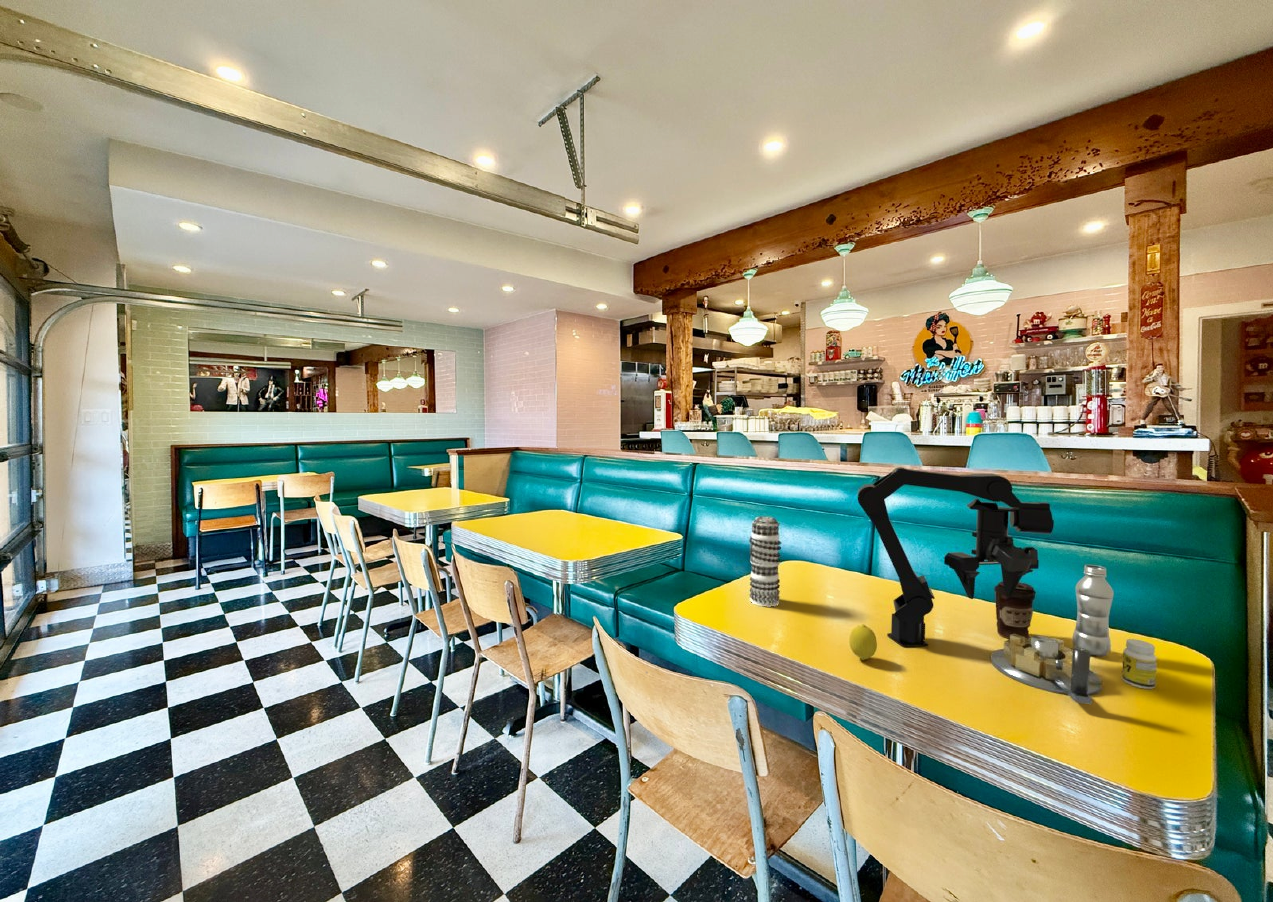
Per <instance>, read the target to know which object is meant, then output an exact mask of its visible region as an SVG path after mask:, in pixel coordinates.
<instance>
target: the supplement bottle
mask: <svg viewBox="0 0 1273 902" xmlns="http://www.w3.org/2000/svg"><path fill="white" fill-rule="evenodd" d="M1155 647H1156V646H1155V645H1154V644H1153V643H1150V642H1147V641H1146V640H1145V641H1144V640H1141V639H1136V638H1128V639H1126V643H1125V648H1124V649H1123V652H1122V654H1123V655H1122V672H1121V679H1122V681H1123V682H1125V683H1126V684H1128V685H1130V686H1133V687H1136V688H1140V689H1145V690H1152V689H1155V688H1156V679H1157V678H1156V677H1157V676H1156V675H1157V661H1158V660H1157V659H1158V658H1157V656H1156V655H1155V652H1156V651H1155V650H1156V649H1155Z"/></svg>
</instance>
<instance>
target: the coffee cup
mask: <svg viewBox="0 0 1273 902" xmlns="http://www.w3.org/2000/svg"><path fill="white" fill-rule="evenodd" d="M993 590H994V591H995V592H994V593H995V595H994V596H995V598H994V599H995V616H996V617H995V618H996V629H997V630H996V631H997V634H998V635H999V636H1001V637H1004V638H1006V639H1010V635H1011V634H1014V633H1015V634H1018V635H1021V636H1024V637H1025V638H1028V639H1031V638H1030V637H1031V636H1030V635H1029V628H1030V627H1031V622H1032V617H1033V615H1034V614H1033V613H1034V608H1033V603H1034V600H1035V599H1036V593H1037V591H1035V589H1034V587H1033V586H1032V585H1031V584H1028V583H1025V582H1020V581H1019V582H1018V584H1017V586H1016V588H1015V590H1014V592H1013V594H1012V596H1011V597H1010V598H1008V597H1006V596H1005V592H1004V587H1003V580H1002V581H1000V582H998V583H997V585H995V587H994V588H993Z"/></svg>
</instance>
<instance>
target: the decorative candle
mask: <svg viewBox="0 0 1273 902" xmlns="http://www.w3.org/2000/svg"><path fill="white" fill-rule="evenodd" d="M751 525H752V526H751V527H752V528H751V535H750V536H749V540H748V541H749V542H748V543H750V545H749V549H750V550H749V555H750V559H749V562H750V563H751V571H750V578H749V580H750V582H749V586H751V587H750V588H749V597H750V598H749V602H750V601H751V602H752V603H753V604H752V603H751V602H750V603H751V604H752V605H754V604H756V605H755V606H757V605H759V606H758V607H762V606H767V607H766V608H772V607H771V606H774V607H777V606H778V605H777V604H779V605H780V597H781V596H780V593H781V591H780V590H779V589H780V581H781V580H780V578H779V577H780V576H779V575H780V574H779V566H780V565H781V564H780V563H781V559H780V558H779V557H781V556H782V554H781V553H780V552H779V551H780V550H782V547H781V546H780V545H781V544H782V541H780V533H779V530H780V528H779V525H781V524H780V523H779V522H778V521H777V519H776V517H775V518H774V517H772V516H756V517H755V519H754V520H753V521H751ZM776 605H777V606H776Z"/></svg>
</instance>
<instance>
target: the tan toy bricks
mask: <svg viewBox="0 0 1273 902" xmlns="http://www.w3.org/2000/svg"><path fill="white" fill-rule="evenodd" d="M1051 638H1052V639H1054V640H1056V641H1058V659H1049V658H1043V657H1040V656H1039V650H1036V649H1033V648H1031V638H1029V639H1028V638H1025V637H1024V636H1021V635H1018V634H1015V633H1014V634H1011V635H1010V638H1008V639H1007V640H1004V641H1003V642H1004V643H1003V649H1004V652H1003V656H1004V658H1005V659H1006V660H1007V661H1008V662H1009V663H1010V665H1014V666H1015V668H1017V669H1020V670H1023V671H1025V672H1028V673H1030V674H1033V675H1035V676H1038V677H1040V676H1042V675H1043V676H1044V677H1045V678H1046V679H1052V680H1054V681H1055V682H1056V683H1057V684H1058V685H1059V686H1060V687H1061V688H1062V689H1063V690H1064V691H1065V692H1066V693H1067V694H1068V695H1067V696H1069V697H1070V698H1071V699H1072V700H1073V702H1074V703H1078V704H1079V703H1080V704H1088V705H1092V704H1093V697H1091V695H1088V688H1089V670H1091V667H1090V664H1091V654H1090V651H1089V650H1086V649H1083V648H1079V647H1075V646H1074V647H1073V646H1072V648H1069V647H1067V646H1065V640H1062V639H1060V638H1059V639H1058V638H1055V637H1051Z"/></svg>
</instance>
